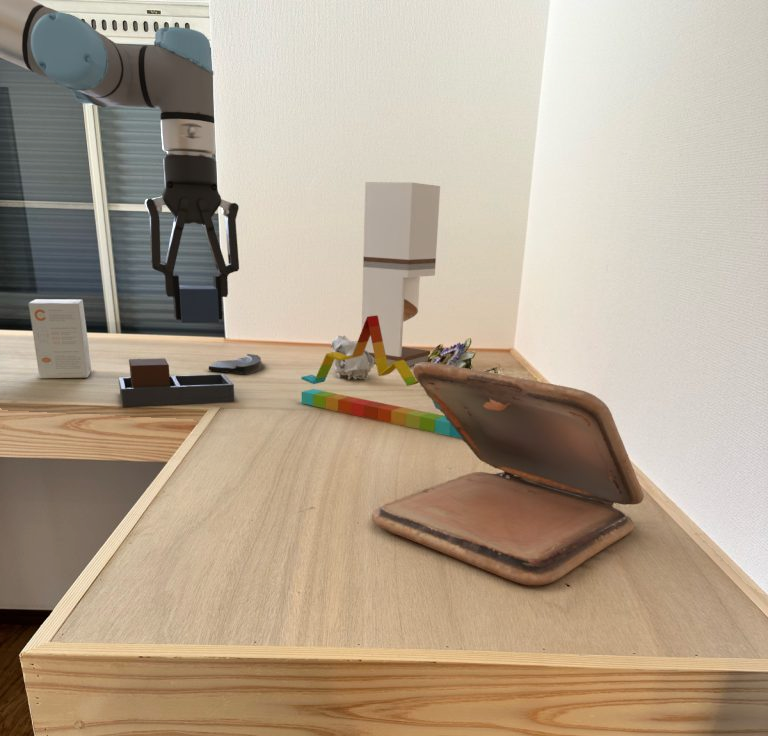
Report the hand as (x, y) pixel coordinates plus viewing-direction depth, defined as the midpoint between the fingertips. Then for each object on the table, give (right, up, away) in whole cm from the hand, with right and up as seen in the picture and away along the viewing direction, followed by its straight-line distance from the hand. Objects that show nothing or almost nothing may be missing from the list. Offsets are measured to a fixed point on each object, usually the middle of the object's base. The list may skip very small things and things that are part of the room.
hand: (198, 318), depth 115 cm
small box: (-28, -6, +17) cm, 33 cm away
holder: (-4, -12, +4) cm, 13 cm away
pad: (0, 0, 0) cm, 0 cm away
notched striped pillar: (+32, +2, +43) cm, 54 cm away
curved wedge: (+1, -2, +29) cm, 29 cm away
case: (+41, -32, -42) cm, 67 cm away
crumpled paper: (+23, -4, +26) cm, 35 cm away
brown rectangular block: (-8, -12, +2) cm, 14 cm away
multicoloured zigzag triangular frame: (+29, -16, -3) cm, 34 cm away
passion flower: (+42, -10, +13) cm, 45 cm away
